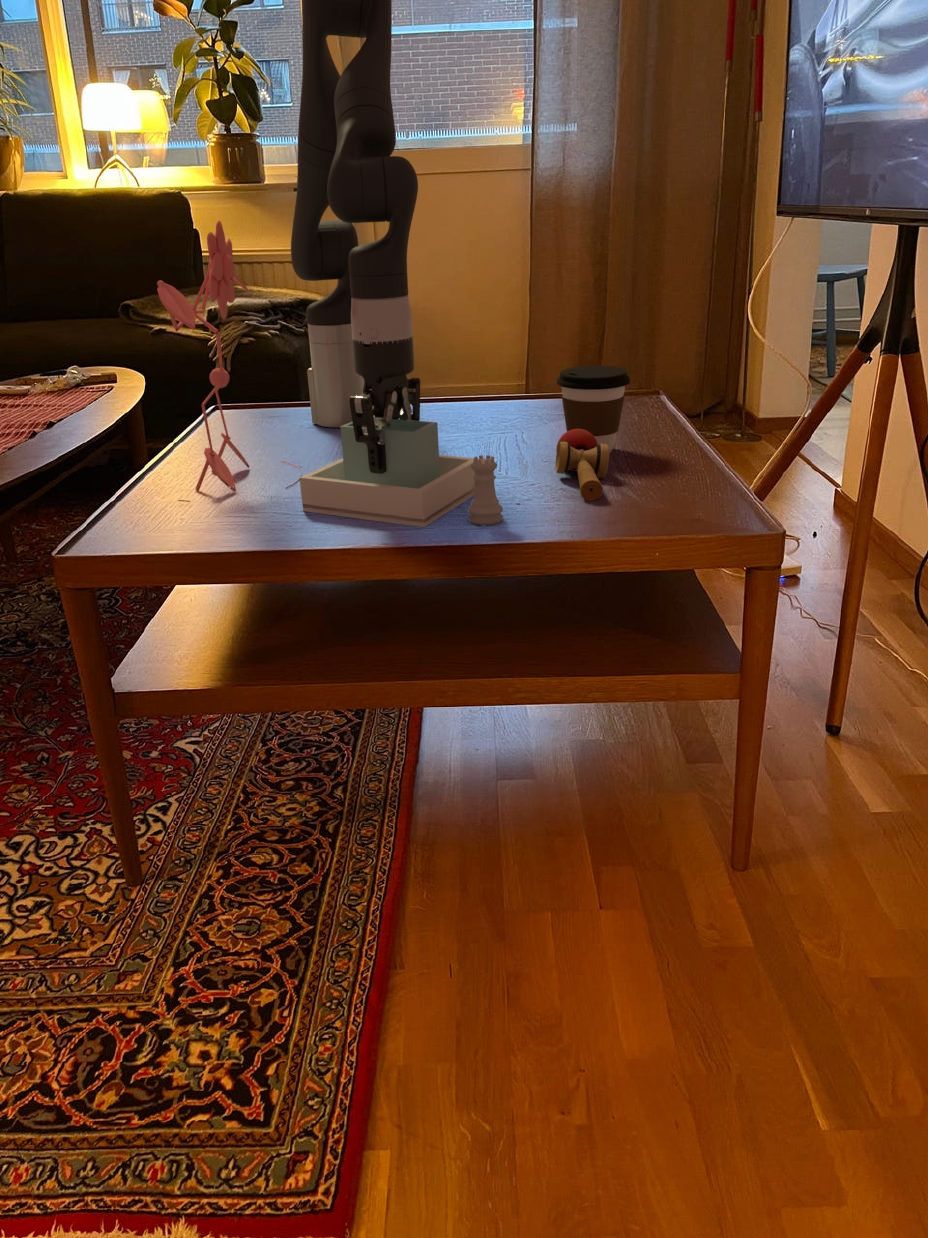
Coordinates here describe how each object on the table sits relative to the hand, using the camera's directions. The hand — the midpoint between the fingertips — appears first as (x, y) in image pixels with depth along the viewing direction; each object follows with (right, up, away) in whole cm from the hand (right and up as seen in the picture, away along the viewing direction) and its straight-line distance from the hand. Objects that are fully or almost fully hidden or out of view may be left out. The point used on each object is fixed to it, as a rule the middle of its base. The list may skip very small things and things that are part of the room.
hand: (391, 465), depth 128 cm
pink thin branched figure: (-21, 0, +13) cm, 25 cm away
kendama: (+26, -1, +7) cm, 27 cm away
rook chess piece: (+12, -8, -7) cm, 16 cm away
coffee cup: (+29, +6, +22) cm, 37 cm away
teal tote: (0, -2, +1) cm, 3 cm away
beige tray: (0, -4, +2) cm, 5 cm away
